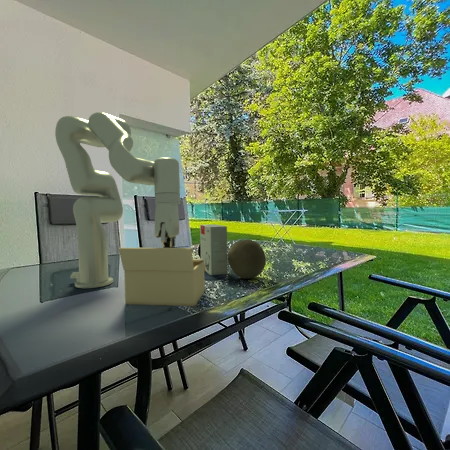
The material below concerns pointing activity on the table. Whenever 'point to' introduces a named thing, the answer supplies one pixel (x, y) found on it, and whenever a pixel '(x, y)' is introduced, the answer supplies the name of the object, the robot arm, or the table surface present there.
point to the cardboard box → (165, 286)
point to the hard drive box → (214, 248)
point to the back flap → (198, 260)
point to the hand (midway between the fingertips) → (169, 259)
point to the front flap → (157, 259)
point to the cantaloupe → (246, 259)
